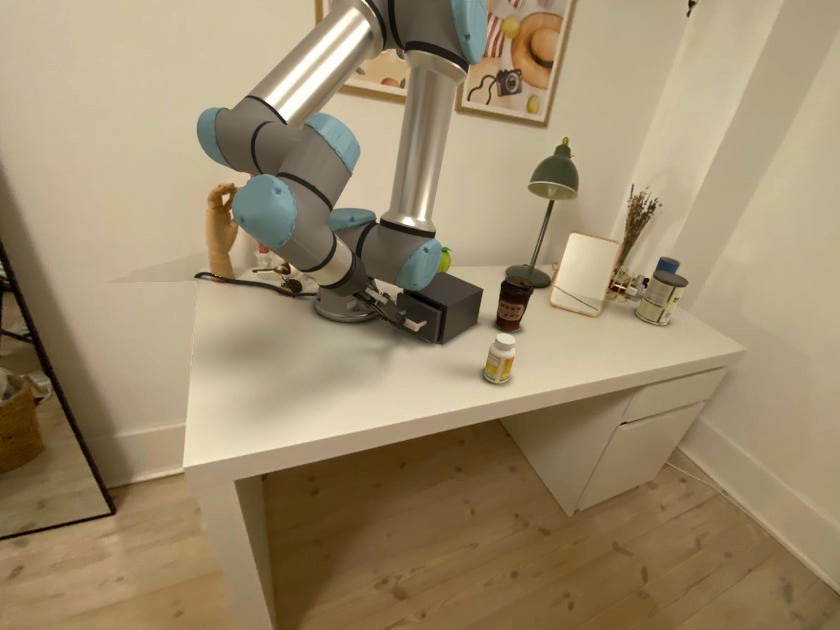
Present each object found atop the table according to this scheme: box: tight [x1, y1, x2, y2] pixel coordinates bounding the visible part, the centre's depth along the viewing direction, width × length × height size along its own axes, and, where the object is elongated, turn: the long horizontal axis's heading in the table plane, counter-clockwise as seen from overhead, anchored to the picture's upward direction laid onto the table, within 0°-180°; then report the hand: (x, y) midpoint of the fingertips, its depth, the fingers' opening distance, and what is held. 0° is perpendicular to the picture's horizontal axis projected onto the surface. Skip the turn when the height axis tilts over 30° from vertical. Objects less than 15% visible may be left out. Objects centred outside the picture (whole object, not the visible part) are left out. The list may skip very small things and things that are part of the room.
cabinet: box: [402, 271, 484, 345], centre depth 91 cm, size 15×13×10 cm
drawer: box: [395, 291, 444, 345], centre depth 87 cm, size 18×12×8 cm, turn 147°
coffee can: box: [635, 270, 689, 326], centre depth 117 cm, size 10×10×14 cm
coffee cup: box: [495, 275, 535, 332], centre depth 95 cm, size 9×8×13 cm
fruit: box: [436, 246, 453, 273], centre depth 115 cm, size 9×9×10 cm
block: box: [422, 300, 440, 310], centre depth 88 cm, size 4×4×4 cm
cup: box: [654, 256, 681, 274], centre depth 130 cm, size 7×7×15 cm
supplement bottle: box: [483, 332, 516, 384], centre depth 77 cm, size 5×5×10 cm
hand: (400, 323), depth 80 cm, fingers closed
